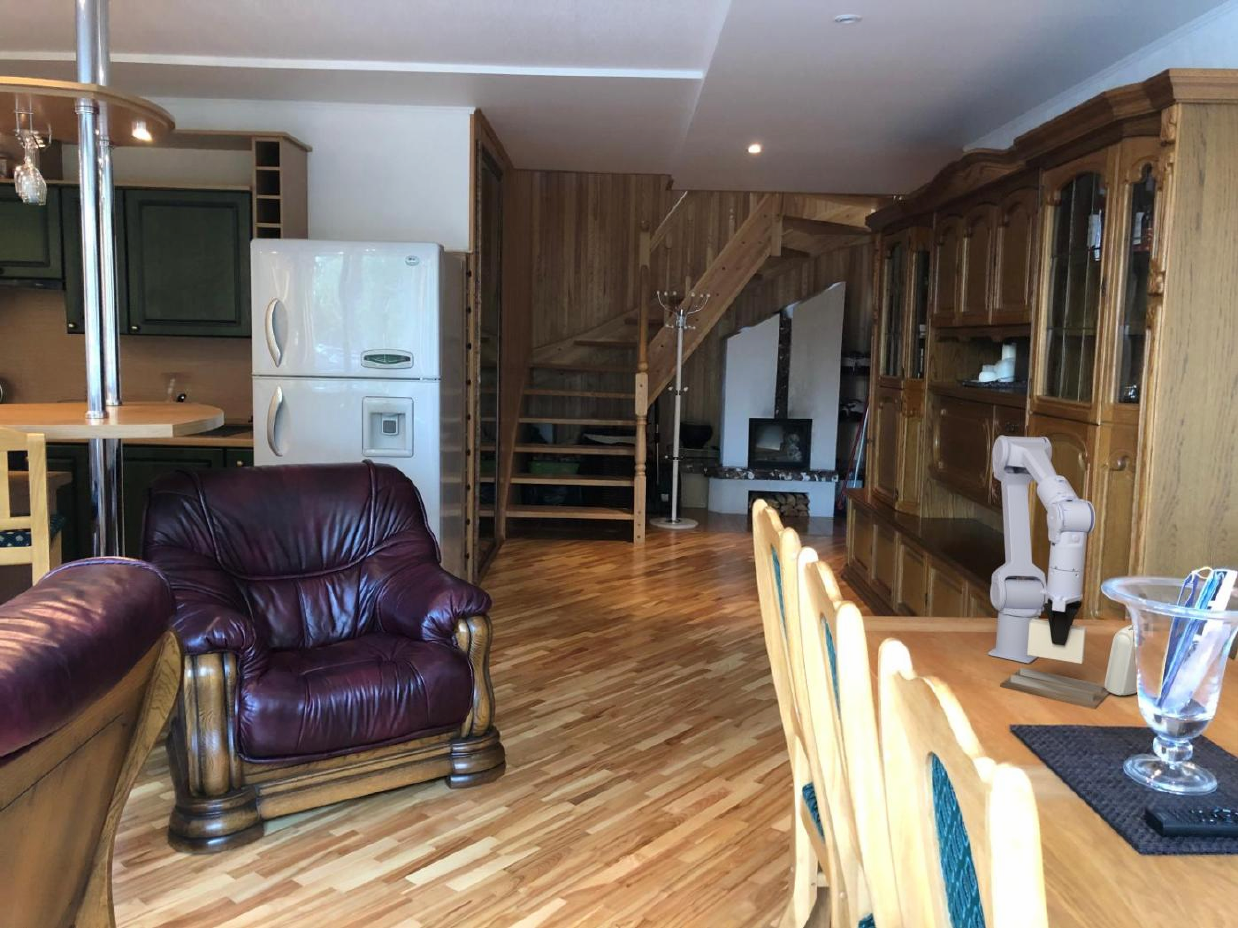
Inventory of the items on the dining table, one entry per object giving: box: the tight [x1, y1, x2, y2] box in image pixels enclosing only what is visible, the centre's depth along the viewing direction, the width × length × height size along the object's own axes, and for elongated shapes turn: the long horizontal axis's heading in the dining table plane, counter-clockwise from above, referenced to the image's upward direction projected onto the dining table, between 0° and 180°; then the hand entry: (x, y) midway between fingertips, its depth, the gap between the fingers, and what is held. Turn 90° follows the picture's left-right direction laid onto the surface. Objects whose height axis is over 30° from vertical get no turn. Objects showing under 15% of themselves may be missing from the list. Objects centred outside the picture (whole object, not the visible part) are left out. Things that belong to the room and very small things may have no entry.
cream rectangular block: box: [1027, 619, 1087, 665], centre depth 176 cm, size 3×9×6 cm, turn 59°
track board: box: [999, 667, 1111, 710], centre depth 177 cm, size 12×16×2 cm
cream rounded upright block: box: [1103, 624, 1136, 696], centre depth 176 cm, size 10×4×12 cm, turn 123°
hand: (1059, 641), depth 176 cm, fingers closed on cream rectangular block, 3 cm apart
